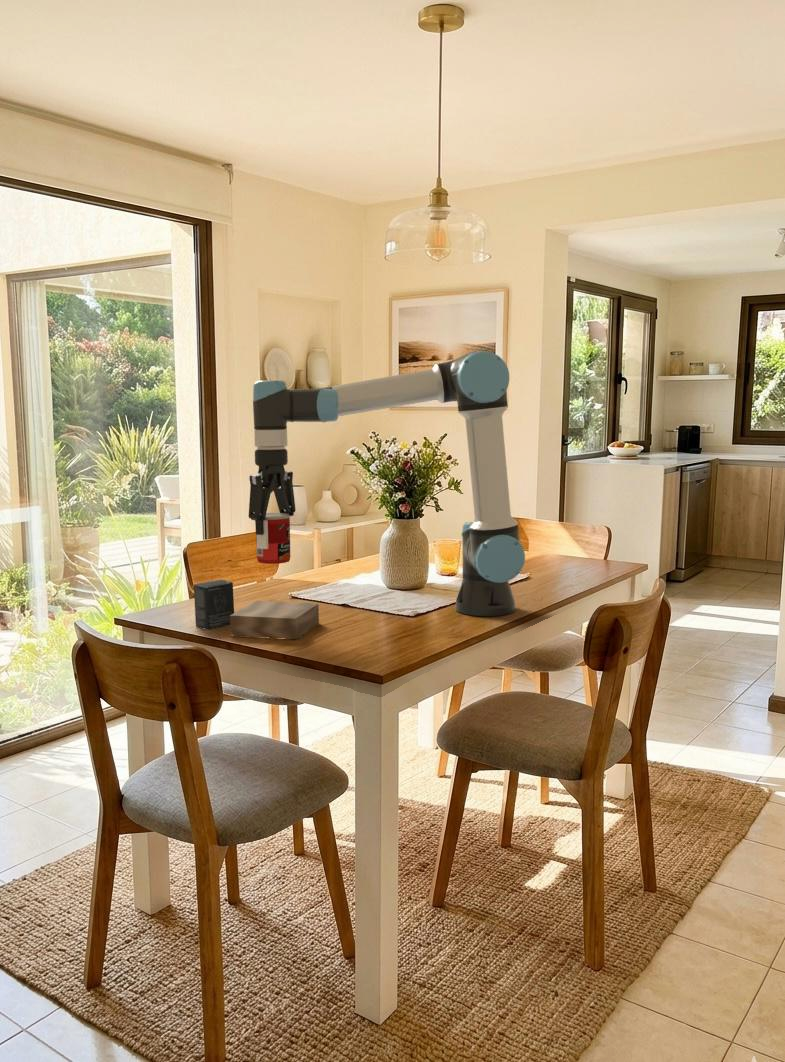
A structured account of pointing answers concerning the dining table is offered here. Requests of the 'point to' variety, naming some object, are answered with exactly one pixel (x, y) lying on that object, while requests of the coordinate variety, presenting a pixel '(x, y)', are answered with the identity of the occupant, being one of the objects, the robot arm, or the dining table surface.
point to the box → (213, 603)
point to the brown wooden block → (275, 619)
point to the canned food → (276, 540)
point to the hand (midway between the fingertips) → (273, 545)
